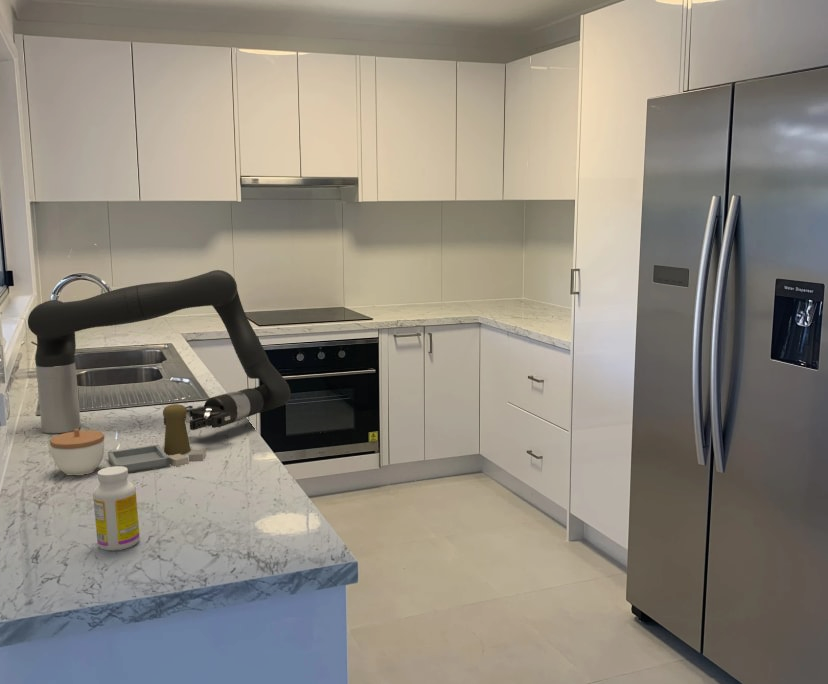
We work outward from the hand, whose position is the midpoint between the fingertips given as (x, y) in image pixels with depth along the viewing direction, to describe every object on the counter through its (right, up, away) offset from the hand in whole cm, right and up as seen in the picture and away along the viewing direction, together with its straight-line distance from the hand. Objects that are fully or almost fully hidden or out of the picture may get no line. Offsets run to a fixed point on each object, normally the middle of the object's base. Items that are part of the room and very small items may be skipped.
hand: (177, 423), depth 186 cm
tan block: (+3, -8, -9) cm, 12 cm away
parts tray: (-6, -8, -8) cm, 13 cm away
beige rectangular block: (+6, -8, -5) cm, 11 cm away
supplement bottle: (+5, -15, -52) cm, 54 cm away
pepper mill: (0, -7, 0) cm, 7 cm away
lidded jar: (-17, -9, -13) cm, 24 cm away
